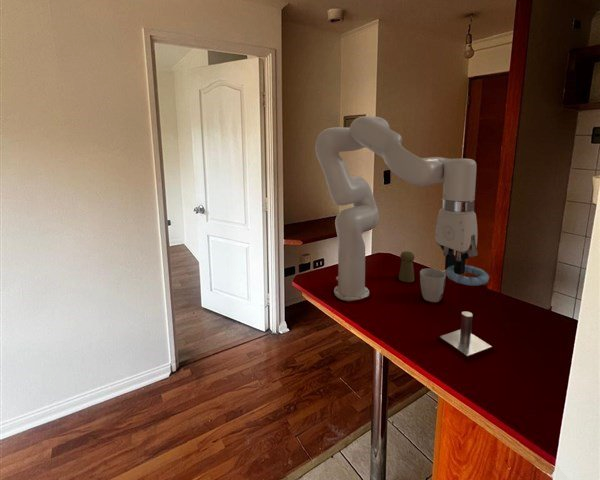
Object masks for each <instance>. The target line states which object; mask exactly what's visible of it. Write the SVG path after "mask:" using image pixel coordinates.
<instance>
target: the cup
mask: <svg viewBox="0 0 600 480" xmlns="http://www.w3.org/2000/svg"><path fill="white" fill-rule="evenodd" d="M446 277H447V275H446V274H445V271H442V270H440V269H438V268H432V267H430V268H429V267H428V268H426V267H425V268H421V270H420V271H419V282H420V290H421V295H422V298H423V299H424V300H425V301H426V302H430V303H439V302H440V301H441V300H442V298H443V294H444V290H445V286H446Z"/></svg>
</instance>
